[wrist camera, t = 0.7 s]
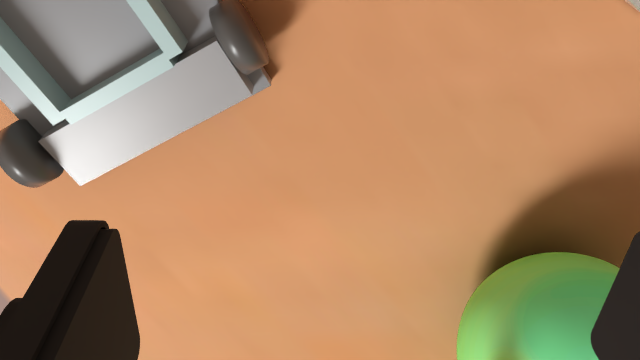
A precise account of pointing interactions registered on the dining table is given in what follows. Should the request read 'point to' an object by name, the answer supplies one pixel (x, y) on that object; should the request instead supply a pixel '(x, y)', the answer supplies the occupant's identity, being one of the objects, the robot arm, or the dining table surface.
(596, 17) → the dining table surface
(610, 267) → the toy bird
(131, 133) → the chassis
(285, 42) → the dining table surface
